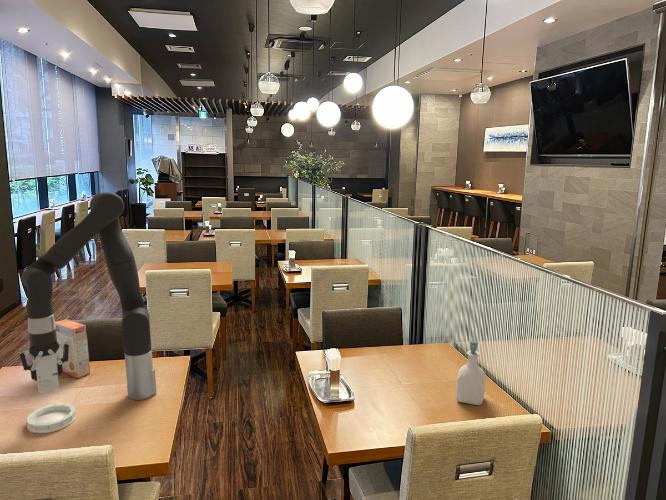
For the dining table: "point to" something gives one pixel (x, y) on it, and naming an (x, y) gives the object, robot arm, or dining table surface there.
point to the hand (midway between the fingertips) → (47, 377)
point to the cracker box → (73, 347)
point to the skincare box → (47, 373)
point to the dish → (51, 418)
